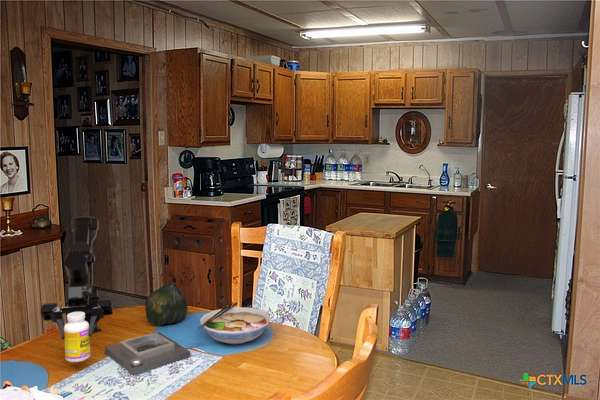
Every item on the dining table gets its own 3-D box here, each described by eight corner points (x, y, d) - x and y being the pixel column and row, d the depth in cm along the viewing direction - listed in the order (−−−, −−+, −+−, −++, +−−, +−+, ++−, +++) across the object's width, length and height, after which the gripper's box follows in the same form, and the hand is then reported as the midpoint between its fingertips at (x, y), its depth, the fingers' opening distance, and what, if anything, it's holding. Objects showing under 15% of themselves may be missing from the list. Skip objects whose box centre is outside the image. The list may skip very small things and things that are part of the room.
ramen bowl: (251, 360, 157) (251, 334, 156) (184, 349, 165) (184, 324, 164) (282, 331, 181) (282, 308, 180) (223, 323, 188) (222, 300, 187)
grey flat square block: (105, 353, 162) (104, 340, 162) (159, 338, 174) (158, 326, 174) (133, 375, 148) (132, 361, 147) (190, 357, 159) (190, 344, 159)
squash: (129, 310, 185) (152, 281, 181) (156, 299, 199) (179, 272, 194) (154, 340, 182) (179, 313, 177) (180, 327, 196) (203, 301, 191)
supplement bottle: (81, 364, 146) (79, 319, 144) (60, 361, 147) (57, 317, 145) (95, 354, 152) (93, 311, 151) (75, 351, 154) (72, 309, 152)
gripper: (39, 276, 148) (34, 328, 139) (110, 271, 153) (110, 321, 144) (45, 294, 156) (41, 345, 147) (112, 289, 162) (112, 338, 153)
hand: (76, 337), depth 148 cm, fingers closed on supplement bottle, 7 cm apart
